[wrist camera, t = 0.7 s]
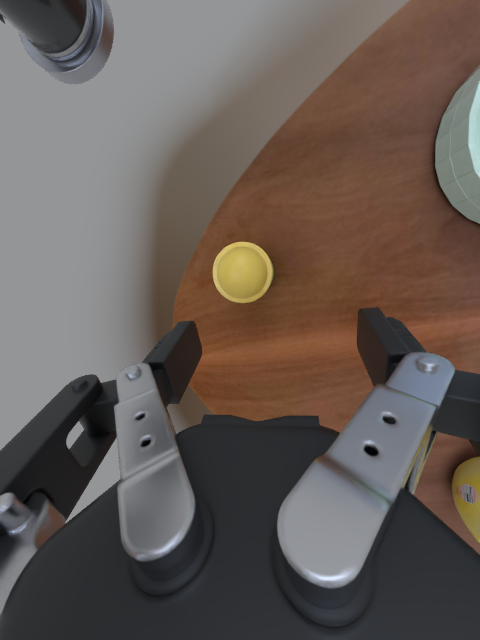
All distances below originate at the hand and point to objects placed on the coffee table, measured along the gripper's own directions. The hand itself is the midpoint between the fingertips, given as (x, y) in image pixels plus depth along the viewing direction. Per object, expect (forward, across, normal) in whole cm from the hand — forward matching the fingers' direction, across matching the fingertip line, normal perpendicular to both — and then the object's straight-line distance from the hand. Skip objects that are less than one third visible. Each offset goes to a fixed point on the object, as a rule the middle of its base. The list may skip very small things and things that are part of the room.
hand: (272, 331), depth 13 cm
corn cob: (+20, +3, +3) cm, 20 cm away
